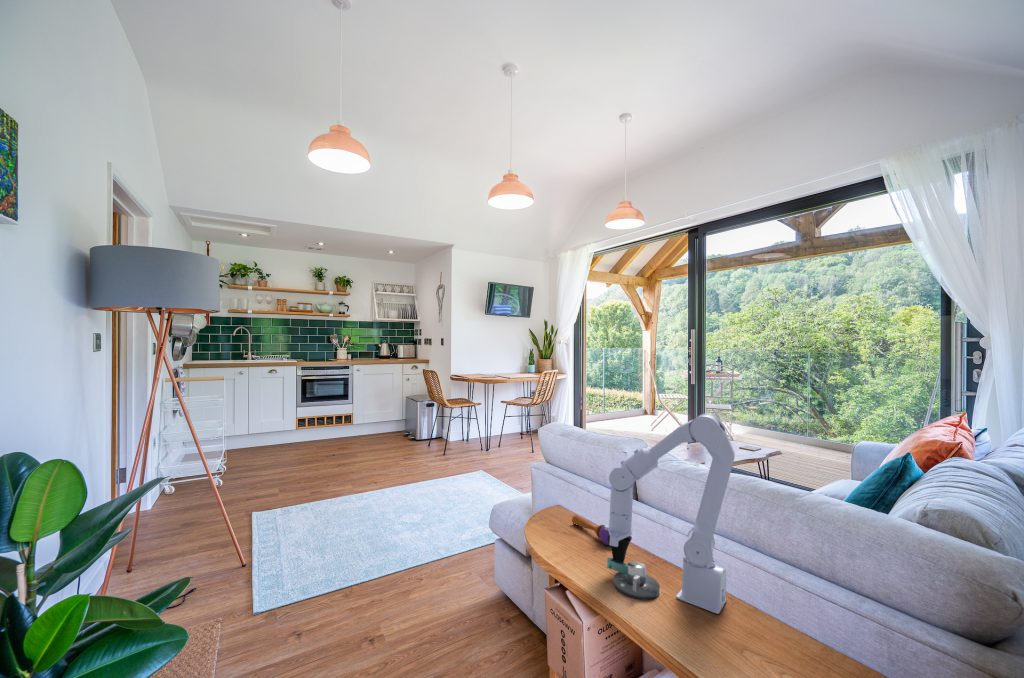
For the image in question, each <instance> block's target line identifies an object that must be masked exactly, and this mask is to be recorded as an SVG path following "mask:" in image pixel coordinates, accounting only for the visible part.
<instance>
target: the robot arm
mask: <svg viewBox="0 0 1024 678" xmlns="http://www.w3.org/2000/svg"><path fill="white" fill-rule="evenodd" d="M695 441H697V442H698V443H699V444H701V446H703V447H705V449H706V451H707V453H709V455H710V456H711V458H712V460H711V463H710V466H709V471H708V473H707V474H708V475H707V476H706V477H707V478H706V482H705V486H704V489H703V492H702V497H701V500H700V504H699V508H698V512H697V513H696V514H697V515H696V519H695V522H694V525H693V527H692V528H691V529H690V530H689V531H688V533H687V538H686V541H685V543H684V545H683V555H682V577H681V580H682V583H681V589H680V591H679V592H678V593H677V594H676V595H675V598H676V599H678V600H680V601H682V602H685V603H688V604H689V605H690V604H691V605H692V606H695V607H698V608H701V609H704V610H706V611H709V612H711V613H713V614H717V615H719V614H720V612H721V611H722V609H723V607H724V605H725V603H726V601H727V599H726V596H727V595H726V594H727V571H726V569H725V568H724V567H721V566H719V565H717V564H716V562H717V561H716V559H714V554H713V552H714V548H715V546H716V545H715V543H716V541H715V538H714V535H715V532H716V527H717V524H718V519H719V516H720V512H721V509H722V505H723V502H724V497H725V494H726V490H727V487H728V483H729V479H730V475H731V472H732V468H733V466H734V462H735V455H736V454H735V451H734V448H733V446H732V443H731V441H730V438H729V435H728V434H727V430H726V427H725V426H724V424H723V423H722V422H721V421H720V419H719V418H717V417H716V416H715V415H713V414H710V413H702V414H699V415H698V416H697V417H695V418H694V419H691V420H689V421H687V422H684V423H683V424H681V425H680V426H678V427H677V428H675V429H674V430H673V431H671V432H670V433H669V434H668V435H666V436H665V437H664V438H663V439H661V440H660V441H659V442H657V443H656V444H655V445H654V446H653V447H651V448H647V447H642V448H637V449H636V450H634V451H633V454H632V455H631V456H630V457H628V458H627V459H623V460H621V461H620V465H618V466H616V467H614V468H613V469H612V470H611V471H610V473H609V477H608V480H609V483H610V485H611V488H610V489H611V490H610V499H609V500H610V501H609V502H610V503H609V521H608V523H609V524H604V525H605V529H606V530H608V531H609V536H608V542H609V544H610V546H609V547H610V550H611V554H612V558H613V559H615V560H618V561H620V562H623V563H625V559H626V554H627V551H628V547H629V545H630V543H631V541H632V539H633V537H632V534H633V529H632V528H633V527H632V524H633V522H632V521H633V503H634V502H633V500H634V495H633V491H634V490H633V489H634V487H633V485H634V484H635V482H636V481H639V480H641V479H642V478H644V477H645V476H646V475H648V474H649V473H650V472H652V471H653V470H655V469H656V468H657V467H658V464H659V459H660V458H661V457H663V456H665V455H666V454H668V453H670V452H671V451H672V450H674V449H675V448H677V447H678V446H679V445H681V444H683V443H694V442H695Z"/></svg>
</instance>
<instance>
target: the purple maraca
mask: <svg viewBox="0 0 1024 678" xmlns="http://www.w3.org/2000/svg"><path fill="white" fill-rule="evenodd" d="M572 522H573V523H575V524H577V525H579V526H578V527H580V526H581V527H580V528H585V529H588V530H591V531H594V533H595V534H596V537H597V538H598V539H600V541H601V543H602V544H603V543H604V545H605V546H608V545H609V547H610V544H609V542H608V536H609V531H608V530H606V529H605V525H606V524H601V525H597V526H595V525H593V524H592V523H590V522H588V521H587V520H585V519H584V518H583V517H581V516H580V515H578V514H575V515H574V516H573V517H572V518H571V523H572ZM573 523H572V524H573Z"/></svg>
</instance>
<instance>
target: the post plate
mask: <svg viewBox="0 0 1024 678" xmlns="http://www.w3.org/2000/svg"><path fill="white" fill-rule="evenodd" d="M613 586H614V588H615V590H616V591H617V592H619V593H620V594H622V596H625V597H628V598H630V599H634V600H638V601H639V600H640V601H652V600H654V599H656V598H658V597H659V596H660V590H661V589H660V583H659V582H658V581H657V579H655V578H654V577H652V576H650V575H649V574H646V583H645V584H643V585H640V576H638V575H636V576H635V577H634V578H633V583H631V582H629V581H628V580H627V575H626V574H623V573H621V572H618V571H617V572H616V573H615V574H614V576H613Z"/></svg>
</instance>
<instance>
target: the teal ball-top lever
mask: <svg viewBox="0 0 1024 678" xmlns="http://www.w3.org/2000/svg"><path fill="white" fill-rule="evenodd" d="M606 568H607V569H609V570H613V571H616V572H617V573H618V572H621V573H623V574H626V575H627V580H628V581H629V582H631V583H633V578H634V577H635V576H636V575H638V576H640V585H643V584H645V583H646V575H647V565H646V564H644V563H643V562H640V561H632V560H631V561H629V562H628V563H626V562H624V563H623V562H620V561H618V560H615V559H613V557H608V558H607V563H606Z"/></svg>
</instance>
